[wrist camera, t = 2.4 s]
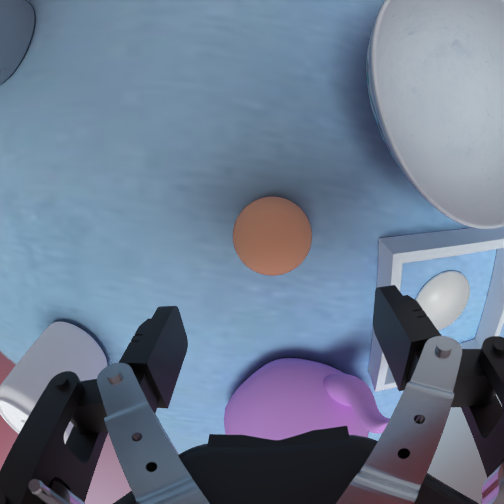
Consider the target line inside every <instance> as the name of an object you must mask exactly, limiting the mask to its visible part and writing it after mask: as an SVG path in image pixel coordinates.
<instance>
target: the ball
mask: <svg viewBox="0 0 504 504" xmlns="http://www.w3.org/2000/svg"><path fill="white" fill-rule="evenodd" d="M311 241H312V231H311V226H310V222H309V220H308V218H307V216H306V215H305V213H304V212H303V211H302V209H301V208H300V207H299V206H297V205H296V204H295V203H293V202H292V201H290V200H287V199H284V198H281V197H273V196H272V197H264V198H260V199H257V200H255V201H253V202H252V203H250V204H248V205H247V206H246V207H245V208H244V209H243V210H242V211H241V213H240V214H239V216H238V218H237V220H236V222H235V225H234V229H233V243H234V247H235V250H236V253H237V254H238V256H239V258H240V259H241V261H242V262H243V263H244V264H245V265H246V266H247V267H249V268H250V269H251V270H253V271H255V272H257V273H260V274H264V275H271V276H274V275H281V274H285V273H287V272H290V271H292V270H293V269H295V268H296V267H298V266H299V265H300V264H301V263H302V262H303V260H304V259H305V258H306V256H307V254H308V252H309V250H310V246H311Z"/></svg>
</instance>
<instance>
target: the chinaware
mask: <svg viewBox="0 0 504 504" xmlns="http://www.w3.org/2000/svg"><path fill="white" fill-rule="evenodd" d="M366 75H367V87H368V93H369V99H370V103H371V107H372V111H373V114H374V118H375V121H376V123H377V126H378V129H379V131H380V133H381V136H382V138H383V140H384V142H385V144H386V146H387V148H388V150H389V152H390V153H391V155H392V157H393V158H394V160H395V162H396V163H397V165H398V166H399V168H400V169H401V170H402V172H403V173H404V175H405V176H406V177H407V178H408V180H409V181H410V182H411V183H412V185H413V186H414V187H415V188H416V189H417V190H418V191H419V192H420V194H421V195H422V196H423V197H424V198H425V199H426V200H427V201H428V202H429V203H431V204H432V205H433V206H434V207H435V208H436V209H438V210H439V211H440V212H441V213H443V214H444V215H446V216H447V217H449V218H451V219H452V220H454V221H456V222H458V223H461V224H463V225H466V226H469V227H473V228H479V229H494V228H500V227H503V226H504V0H385V1H384V3H383V4H382V6H381V8H380V10H379V12H378V14H377V17H376V19H375V22H374V25H373V28H372V31H371V35H370V39H369V44H368V50H367V62H366Z"/></svg>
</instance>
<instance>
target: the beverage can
mask: <svg viewBox="0 0 504 504" xmlns="http://www.w3.org/2000/svg"><path fill="white" fill-rule="evenodd" d="M105 367H107V360H106V357H105V355H104V353H103V351H102V349H101V348H100V346H99V345H98V344H97V342H96V341H95V340H94V339H93V338H92V337H91V336H90V335H89V334H87V333H86V332H85V331H83V330H82V329H80V328H79V327H77V326H75V325H73V324H70V323H67V322H54V323H52V324H50V325H49V326H48V327H47V328H46V329H45V331H44V332H43V333H42V334H41V335H40V336H39V338H38V339H37V340H36V341H35V342H34V344H33V345H32V346H31V347H30V348H29V350H28V351H27V352H26V353H25V355H24V356H23V357H22V358H21V360H20V361H19V362H18V363H17V365H16V366H15V367H14V368H13V370H12V371H11V372H10V374H9V375H8V376H7V378H6V379H5V380H4V382H3V383H2V384H1V386H0V415H1V416H2V417H3V419H4V420H5V421H6V422H7V423H8V424H9V425H10V426H11V427H12V428H13V429H14V430H15V431H16V432H17V433H18V434H19V433H20V431H21V429H22V428H23V426H24V424H25V422H26V420H27V419H28V417H29V415H30V413H31V412H32V410H33V408H34V406H35V405H36V403H37V401H38V400H39V398H40V396H41V395H42V393H43V391H44V390H45V388H46V386H47V385H48V383H49V382H50V380H51V379H52V378H53V377H54V376H56V375H57V374H59V373H61V372H65V371H71V372H74V373H76V374H77V376H78V378H79V379H80V381H86V380H92V379H97V377H98V374H99V373H100V372H101V371H102V370H103V369H104V368H105ZM73 426H74V425H73V424H72V423H71V421H70V422H69V424H68V426H67V429H66V431H65V433H64V443H65V444H66V441H67V439H68V437H69V435H70V432H71V430H72V428H73Z"/></svg>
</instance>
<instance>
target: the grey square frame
mask: <svg viewBox="0 0 504 504" xmlns="http://www.w3.org/2000/svg"><path fill="white" fill-rule="evenodd" d="M493 249H497V253H496V258H495V263H494V269H493V273H492V278H491V282H490V287H489V291H488V295H487V299H486V303H485V306H484V310H483V314H482V317H481V320H480V324H479V327H478V330H477V333H476V336H475V339H473V340H470V341H466V342H463V343H460V345H461V347H462V349H481V347H482V344H483V342H484V340H485V339H487V338H488V337H492V336H499V334H500V332H501V329H502V326H503V323H504V226H503V227H500V228H494V229H479V228H466V229H457V230H448V231H439V232H430V233H421V234H412V235H403V236H394V237H385V238H379V249H378V273H377V287H383V286H390V285H395V286H396V287H397V288H398V290H399V291H400V286H401V275H402V264H403V263H408V262H415V261H422V260H429V259H436V258H443V257H449V256H456V255H462V254H469V253H475V252H481V251H487V250H493ZM368 372H369V375H370V378H371V381H372V384H373V387H374V390H375V392H376V391H381V390H386V389H391V388H395V387H397V385H396V383H395V380H394V378H393V375H392V373H391V370H390V368H389V366H388V363H387V361H386V358H385V356H384V354H383V351H382V349H381V347H380V345H379V342H378V340H377V338H376V335H375V333H374V328H373V334H372V343H371V351H370V358H369V365H368Z"/></svg>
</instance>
